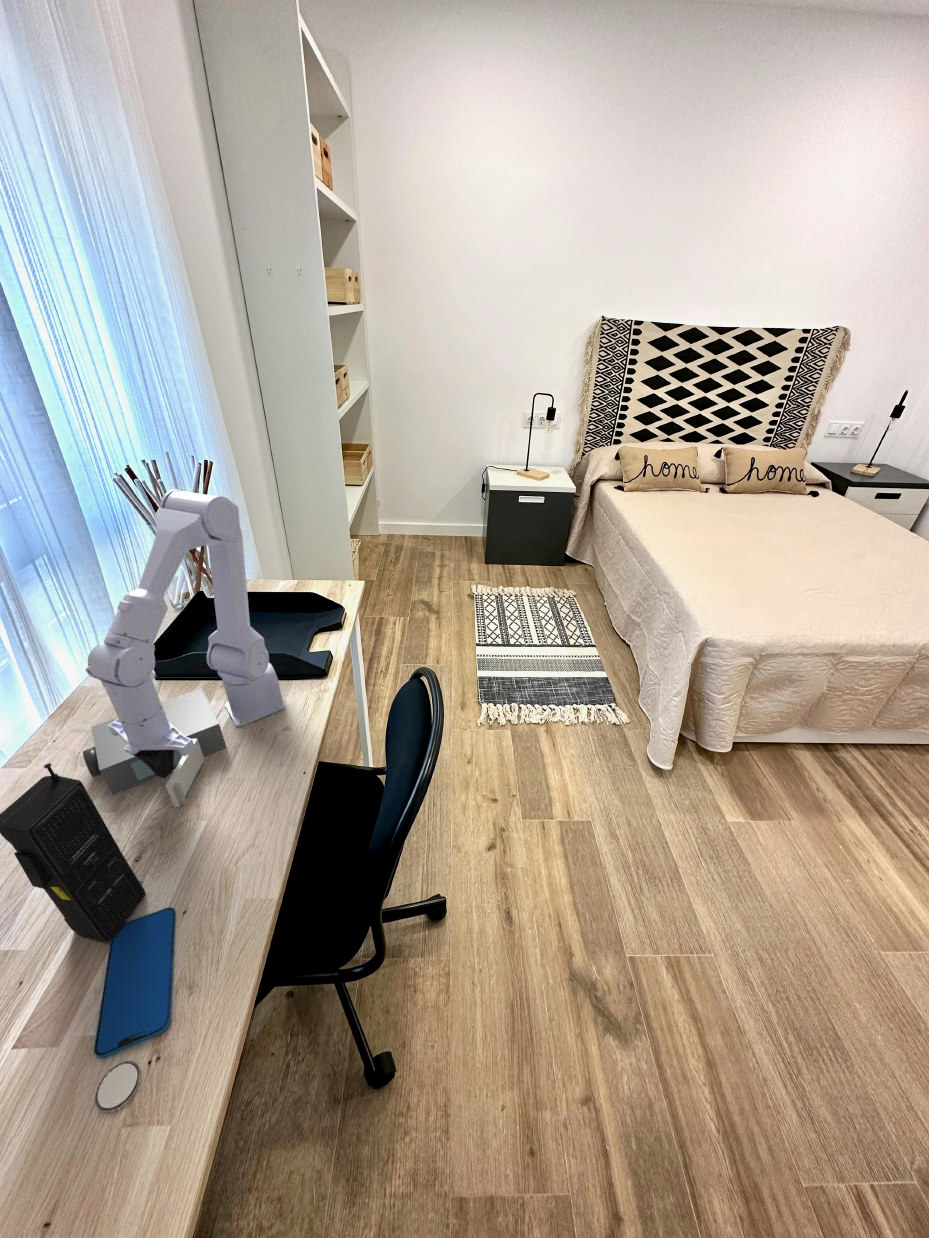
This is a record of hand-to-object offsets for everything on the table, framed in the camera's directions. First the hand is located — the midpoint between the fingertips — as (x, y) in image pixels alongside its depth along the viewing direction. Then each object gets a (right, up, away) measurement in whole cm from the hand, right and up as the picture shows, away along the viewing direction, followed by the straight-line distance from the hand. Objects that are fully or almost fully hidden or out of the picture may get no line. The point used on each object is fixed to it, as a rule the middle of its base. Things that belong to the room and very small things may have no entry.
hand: (166, 773), depth 84 cm
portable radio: (+2, -14, -17) cm, 22 cm away
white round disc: (+13, -23, -31) cm, 41 cm away
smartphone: (+10, -18, -22) cm, 30 cm away
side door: (+4, -2, +2) cm, 4 cm away
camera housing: (-5, +2, +8) cm, 10 cm away
